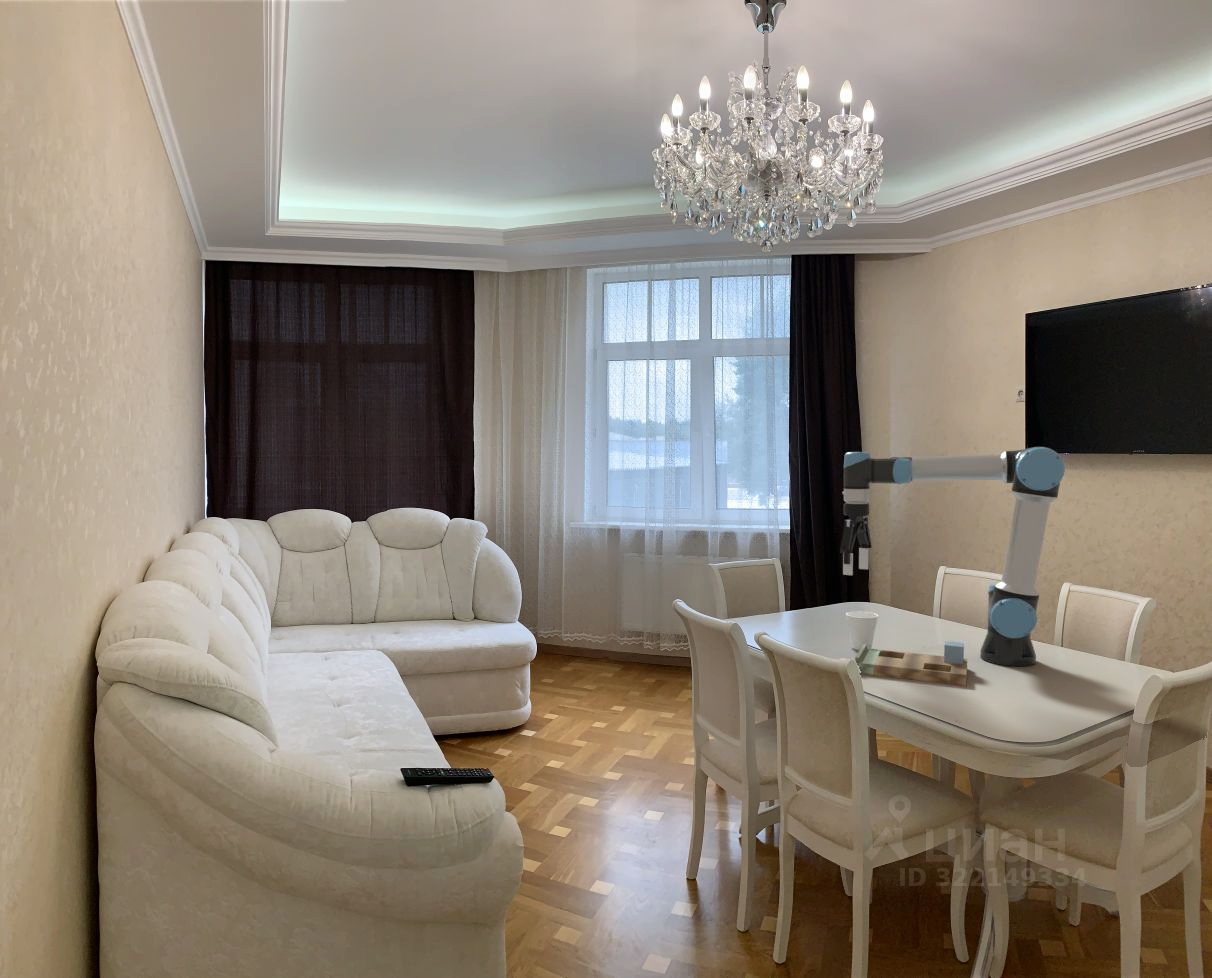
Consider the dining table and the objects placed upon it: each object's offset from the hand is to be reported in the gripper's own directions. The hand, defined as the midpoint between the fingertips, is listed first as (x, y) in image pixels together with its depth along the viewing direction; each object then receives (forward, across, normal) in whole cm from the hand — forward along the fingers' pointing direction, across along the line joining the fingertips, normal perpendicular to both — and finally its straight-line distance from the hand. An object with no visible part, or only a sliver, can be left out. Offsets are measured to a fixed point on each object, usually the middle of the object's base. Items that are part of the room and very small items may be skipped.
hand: (855, 571), depth 253 cm
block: (+23, 0, +29) cm, 37 cm away
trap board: (+26, +7, +19) cm, 33 cm away
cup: (+26, -9, -1) cm, 28 cm away
